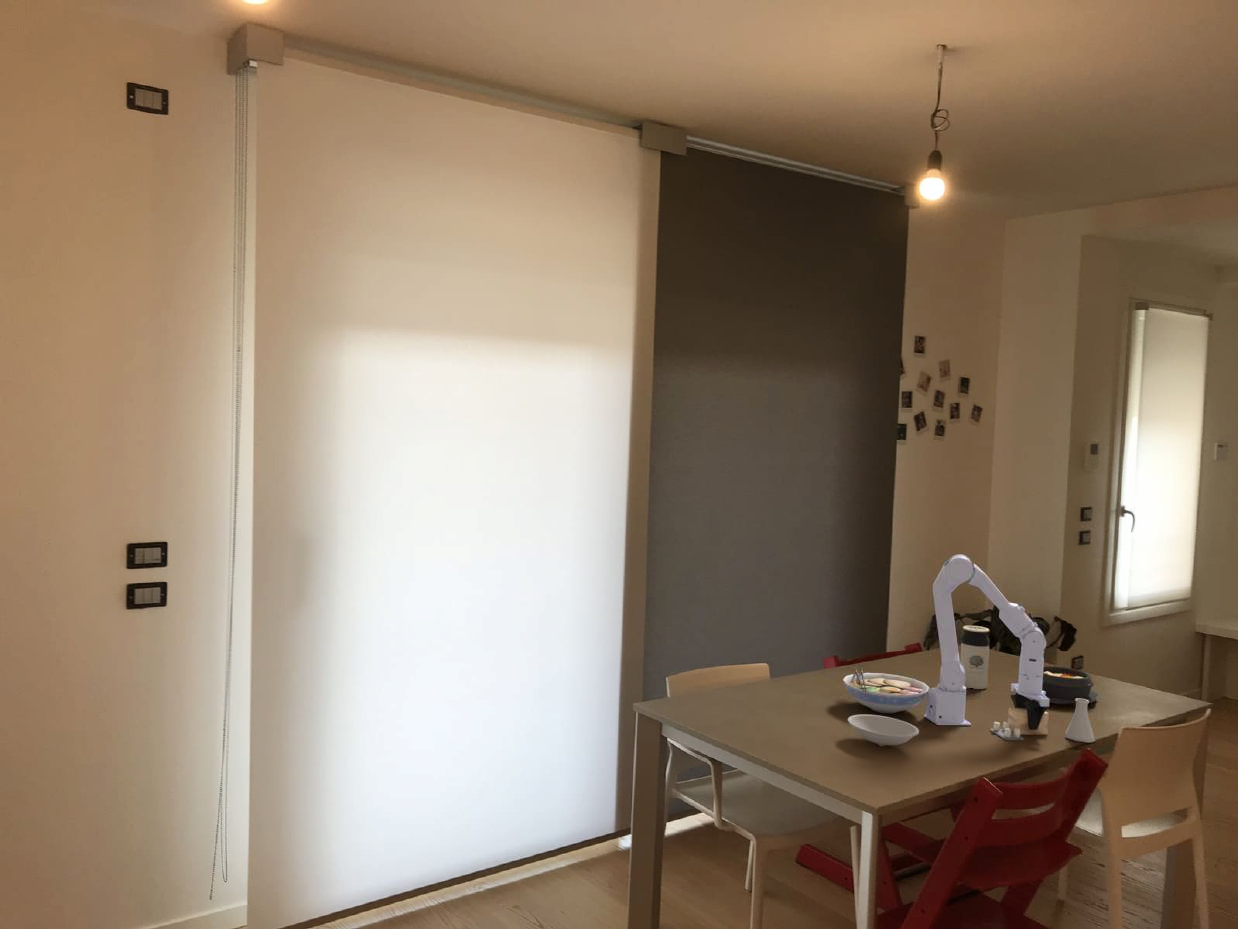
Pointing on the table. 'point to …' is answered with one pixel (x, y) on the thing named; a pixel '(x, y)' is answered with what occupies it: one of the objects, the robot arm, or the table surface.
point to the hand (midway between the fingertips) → (1027, 726)
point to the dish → (883, 729)
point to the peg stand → (1006, 732)
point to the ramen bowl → (885, 691)
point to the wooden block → (1026, 721)
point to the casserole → (1067, 685)
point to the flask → (1080, 724)
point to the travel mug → (975, 656)
